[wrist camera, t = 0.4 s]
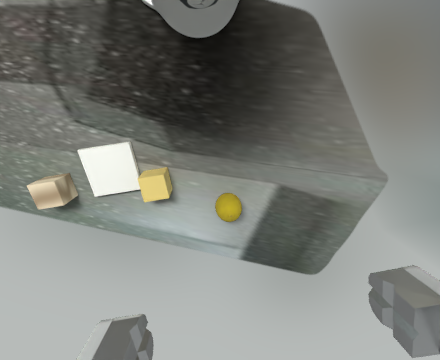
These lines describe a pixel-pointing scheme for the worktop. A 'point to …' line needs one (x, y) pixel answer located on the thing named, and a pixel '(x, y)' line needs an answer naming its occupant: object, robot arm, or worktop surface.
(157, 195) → the mustard brick
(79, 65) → the worktop surface
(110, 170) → the plate
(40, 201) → the beech brick
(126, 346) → the robot arm
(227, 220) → the lemon
